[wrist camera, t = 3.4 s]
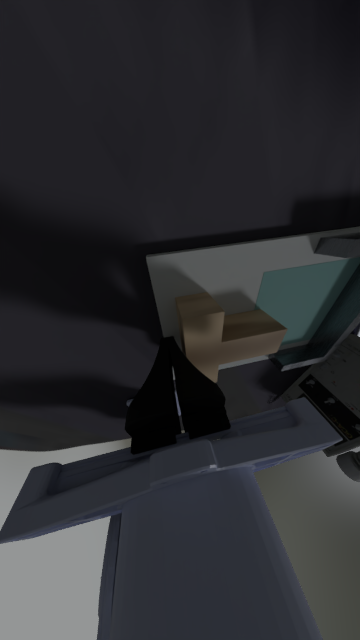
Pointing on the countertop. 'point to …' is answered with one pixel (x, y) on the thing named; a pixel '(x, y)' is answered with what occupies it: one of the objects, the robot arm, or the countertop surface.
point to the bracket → (345, 314)
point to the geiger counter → (336, 400)
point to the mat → (255, 282)
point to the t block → (223, 333)
